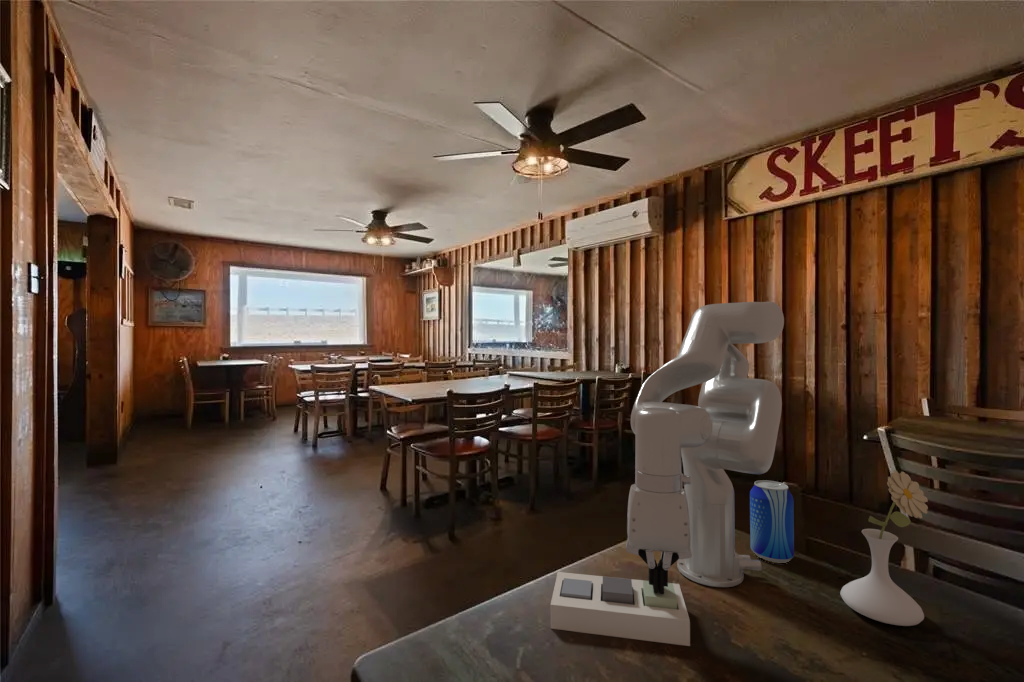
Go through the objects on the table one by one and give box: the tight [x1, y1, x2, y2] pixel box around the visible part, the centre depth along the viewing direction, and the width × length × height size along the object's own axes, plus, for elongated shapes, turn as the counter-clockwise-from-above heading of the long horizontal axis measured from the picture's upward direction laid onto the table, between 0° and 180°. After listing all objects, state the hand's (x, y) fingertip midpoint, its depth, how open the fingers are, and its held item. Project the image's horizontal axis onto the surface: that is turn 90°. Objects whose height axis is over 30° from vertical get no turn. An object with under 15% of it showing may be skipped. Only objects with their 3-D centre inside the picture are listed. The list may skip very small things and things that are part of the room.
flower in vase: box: [839, 470, 929, 627], centre depth 79 cm, size 13×11×25 cm
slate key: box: [561, 578, 592, 600], centre depth 80 cm, size 5×5×3 cm
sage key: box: [643, 580, 677, 609], centre depth 77 cm, size 5×5×3 cm
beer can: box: [749, 479, 795, 564], centre depth 100 cm, size 8×8×16 cm
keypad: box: [550, 571, 691, 647], centre depth 78 cm, size 22×11×4 cm, turn 78°
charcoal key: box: [602, 576, 633, 605], centre depth 78 cm, size 5×5×3 cm
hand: (658, 589), depth 77 cm, fingers closed
